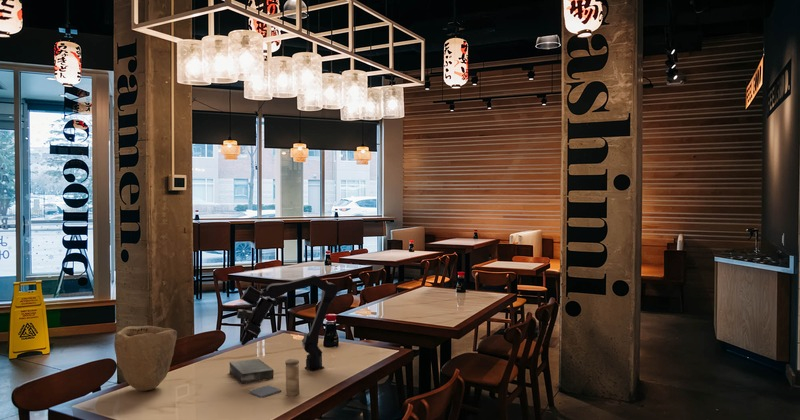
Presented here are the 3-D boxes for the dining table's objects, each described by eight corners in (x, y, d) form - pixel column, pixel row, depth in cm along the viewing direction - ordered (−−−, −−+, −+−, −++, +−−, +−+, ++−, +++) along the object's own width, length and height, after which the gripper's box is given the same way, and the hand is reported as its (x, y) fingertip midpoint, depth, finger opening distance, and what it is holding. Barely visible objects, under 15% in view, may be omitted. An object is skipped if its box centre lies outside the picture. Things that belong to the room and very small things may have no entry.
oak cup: (294, 390, 212) (293, 357, 212) (302, 393, 208) (301, 360, 208) (283, 394, 208) (282, 360, 208) (291, 397, 205) (290, 363, 204)
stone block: (242, 385, 220) (242, 373, 220) (229, 373, 237) (228, 361, 237) (274, 379, 228) (274, 367, 228) (259, 368, 244) (259, 357, 244)
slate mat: (268, 386, 217) (268, 385, 217) (281, 391, 211) (281, 390, 211) (248, 392, 210) (248, 391, 210) (261, 397, 204) (261, 396, 204)
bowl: (189, 386, 218) (188, 325, 218) (137, 404, 199) (136, 337, 199) (156, 378, 230) (155, 320, 230) (104, 393, 212) (103, 330, 211)
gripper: (244, 298, 240) (224, 329, 237) (246, 305, 222) (225, 338, 220) (265, 309, 243) (246, 340, 240) (269, 317, 225) (249, 350, 223)
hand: (241, 342), depth 231 cm, fingers open, 9 cm apart
